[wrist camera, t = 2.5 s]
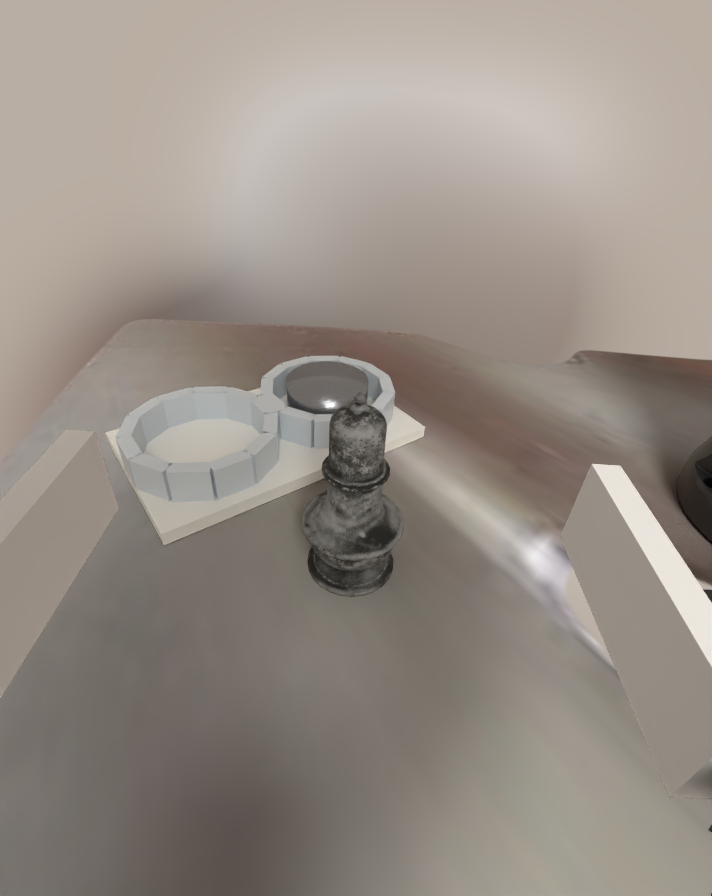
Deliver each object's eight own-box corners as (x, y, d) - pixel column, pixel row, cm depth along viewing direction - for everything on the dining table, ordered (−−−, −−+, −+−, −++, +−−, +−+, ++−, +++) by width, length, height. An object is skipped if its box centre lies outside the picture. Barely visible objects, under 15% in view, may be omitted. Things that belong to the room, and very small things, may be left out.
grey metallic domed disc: (337, 384, 46) (338, 355, 44) (382, 417, 42) (385, 386, 40) (273, 403, 43) (271, 373, 41) (314, 442, 38) (314, 409, 37)
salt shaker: (317, 519, 33) (316, 357, 26) (403, 535, 32) (427, 372, 25) (290, 589, 28) (280, 415, 21) (390, 610, 27) (415, 436, 20)
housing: (337, 374, 50) (337, 342, 48) (423, 436, 41) (429, 401, 39) (108, 442, 39) (96, 405, 37) (163, 545, 30) (152, 504, 28)
